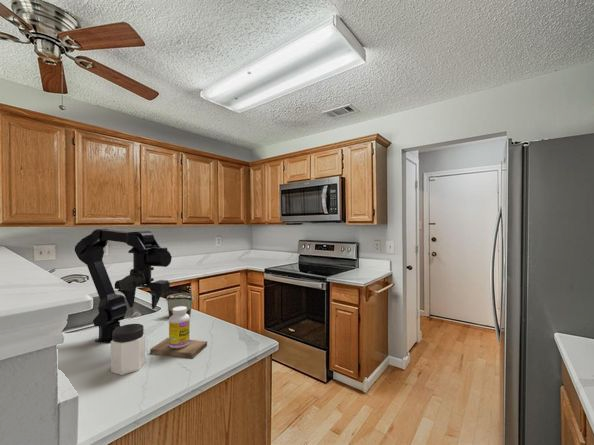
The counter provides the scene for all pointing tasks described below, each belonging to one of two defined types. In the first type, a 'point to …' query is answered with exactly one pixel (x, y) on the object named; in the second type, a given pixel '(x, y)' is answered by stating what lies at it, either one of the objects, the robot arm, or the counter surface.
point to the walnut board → (179, 349)
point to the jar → (127, 349)
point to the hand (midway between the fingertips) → (142, 308)
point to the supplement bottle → (179, 328)
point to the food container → (179, 302)
